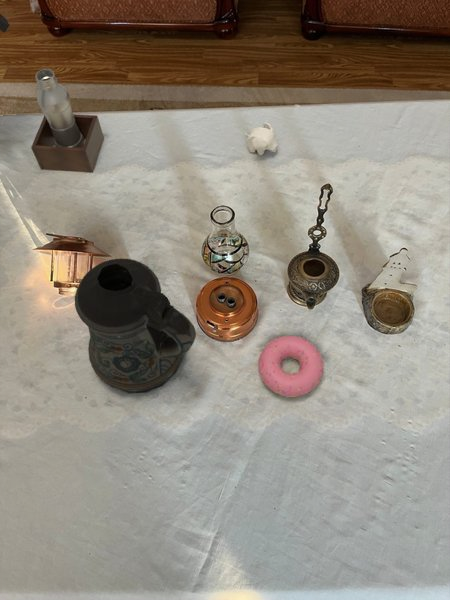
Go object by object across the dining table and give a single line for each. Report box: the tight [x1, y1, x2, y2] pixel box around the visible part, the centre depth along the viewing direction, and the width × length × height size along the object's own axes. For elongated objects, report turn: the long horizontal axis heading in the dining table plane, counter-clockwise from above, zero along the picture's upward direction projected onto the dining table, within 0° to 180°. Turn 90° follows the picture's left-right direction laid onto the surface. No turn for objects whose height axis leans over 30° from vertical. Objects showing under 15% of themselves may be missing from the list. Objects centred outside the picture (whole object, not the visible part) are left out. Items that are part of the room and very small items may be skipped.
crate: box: [30, 113, 105, 174], centre depth 114 cm, size 12×11×8 cm
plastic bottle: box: [35, 68, 85, 148], centre depth 108 cm, size 6×7×20 cm
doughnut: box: [257, 335, 324, 398], centre depth 88 cm, size 11×11×4 cm
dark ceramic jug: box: [74, 258, 197, 394], centre depth 82 cm, size 16×19×25 cm
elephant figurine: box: [244, 122, 279, 156], centre depth 114 cm, size 7×8×6 cm
